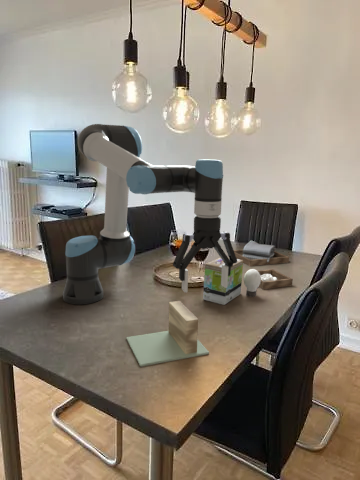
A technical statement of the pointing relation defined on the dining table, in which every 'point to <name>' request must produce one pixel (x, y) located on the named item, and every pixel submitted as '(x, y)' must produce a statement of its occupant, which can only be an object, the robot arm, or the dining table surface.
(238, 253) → the frame
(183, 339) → the tan rectangular box
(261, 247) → the towel
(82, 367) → the dining table surface
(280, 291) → the dining table surface
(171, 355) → the mat
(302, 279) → the dining table surface
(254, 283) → the light bulb
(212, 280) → the tea box
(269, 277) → the rose
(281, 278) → the rose frame
